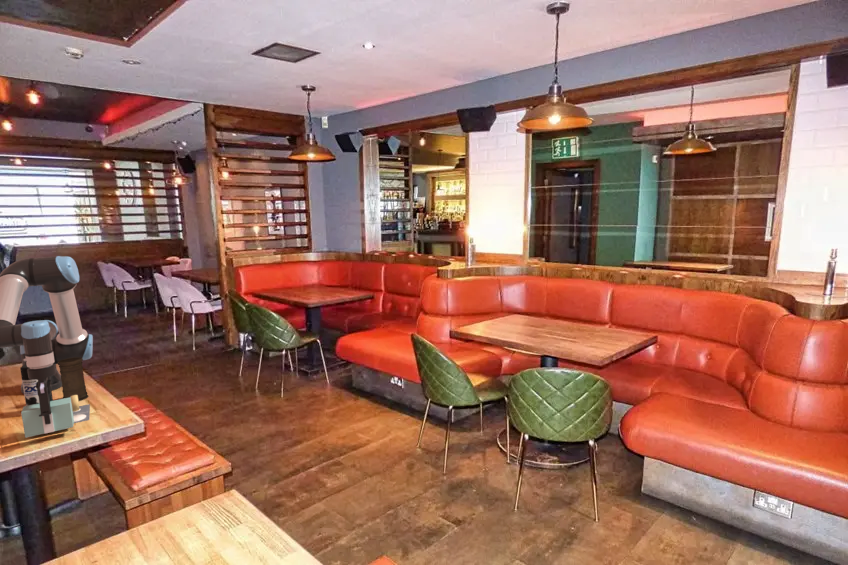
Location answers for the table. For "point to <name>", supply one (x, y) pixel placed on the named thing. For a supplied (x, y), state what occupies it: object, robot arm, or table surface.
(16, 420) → the table surface
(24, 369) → the spray can
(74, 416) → the slate board
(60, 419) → the pale green block
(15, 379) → the table surface
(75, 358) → the container
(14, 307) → the robot arm
